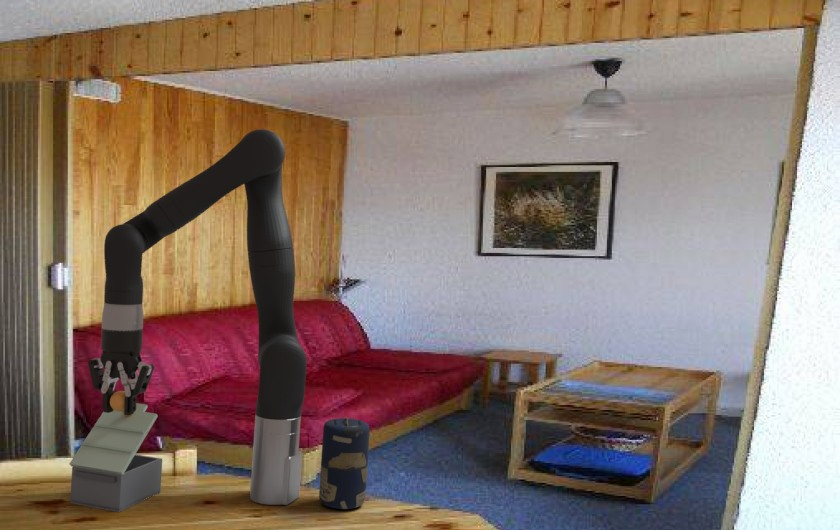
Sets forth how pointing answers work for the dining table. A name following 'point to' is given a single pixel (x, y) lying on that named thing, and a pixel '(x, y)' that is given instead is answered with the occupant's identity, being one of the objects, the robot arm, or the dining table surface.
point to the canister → (344, 463)
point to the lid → (114, 438)
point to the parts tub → (117, 485)
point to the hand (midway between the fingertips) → (118, 412)
